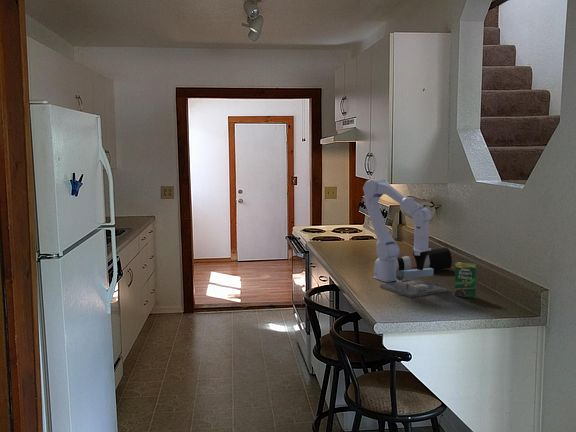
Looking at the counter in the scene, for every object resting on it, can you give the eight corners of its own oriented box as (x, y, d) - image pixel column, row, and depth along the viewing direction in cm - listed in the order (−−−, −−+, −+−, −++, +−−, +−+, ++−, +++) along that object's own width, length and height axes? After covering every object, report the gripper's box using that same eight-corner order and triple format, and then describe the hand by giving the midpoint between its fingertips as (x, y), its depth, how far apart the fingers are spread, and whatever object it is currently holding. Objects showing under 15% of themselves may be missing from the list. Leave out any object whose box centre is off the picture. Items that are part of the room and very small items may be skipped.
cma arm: (398, 279, 221) (398, 272, 221) (394, 277, 224) (394, 270, 224) (434, 275, 227) (434, 269, 227) (429, 274, 230) (429, 267, 230)
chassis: (380, 287, 221) (380, 280, 221) (414, 281, 230) (415, 274, 230) (410, 297, 206) (411, 290, 205) (446, 291, 215) (446, 284, 215)
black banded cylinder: (377, 280, 252) (373, 259, 255) (446, 270, 256) (441, 250, 259) (382, 275, 242) (378, 253, 246) (453, 265, 246) (448, 244, 250)
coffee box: (453, 295, 208) (454, 262, 207) (455, 294, 211) (456, 261, 209) (474, 299, 204) (476, 265, 203) (476, 297, 207) (478, 263, 205)
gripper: (427, 240, 213) (426, 274, 215) (434, 235, 226) (433, 267, 228) (409, 239, 216) (408, 272, 218) (417, 234, 229) (416, 265, 231)
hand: (420, 269), depth 223 cm, fingers closed
